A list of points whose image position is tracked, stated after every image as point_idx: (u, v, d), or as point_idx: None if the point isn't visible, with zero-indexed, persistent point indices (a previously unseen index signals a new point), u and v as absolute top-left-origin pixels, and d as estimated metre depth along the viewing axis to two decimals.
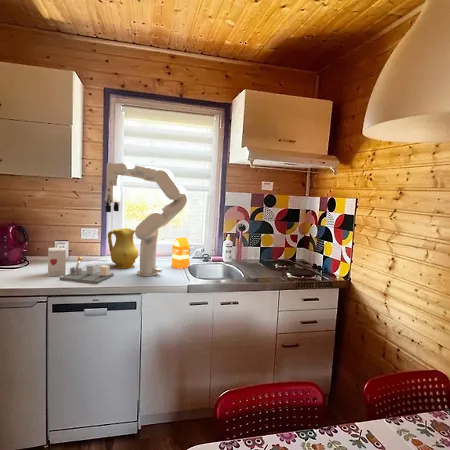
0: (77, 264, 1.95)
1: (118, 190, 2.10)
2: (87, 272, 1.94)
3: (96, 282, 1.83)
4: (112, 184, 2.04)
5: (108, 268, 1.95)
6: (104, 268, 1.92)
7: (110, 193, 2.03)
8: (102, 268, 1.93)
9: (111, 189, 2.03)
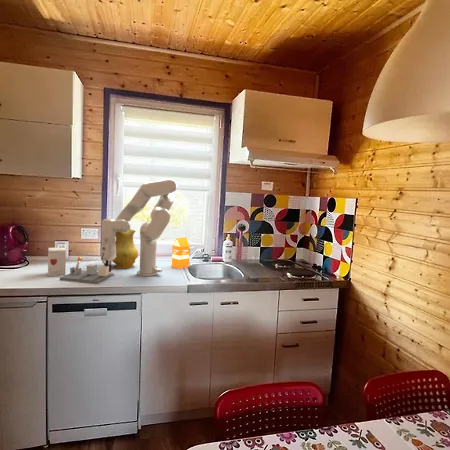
0: (77, 264, 1.95)
1: (114, 247, 1.99)
2: (87, 272, 1.94)
3: (96, 282, 1.83)
4: (107, 242, 1.93)
5: (107, 268, 1.94)
6: (103, 268, 1.92)
7: (105, 252, 1.92)
8: (101, 269, 1.92)
9: (106, 248, 1.92)
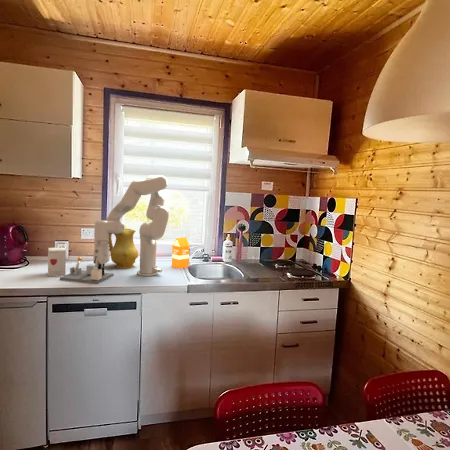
0: (77, 264, 1.95)
1: (107, 249, 1.91)
2: (87, 272, 1.94)
3: (96, 282, 1.83)
4: (100, 244, 1.85)
5: (100, 272, 1.86)
6: (96, 272, 1.84)
7: (98, 255, 1.85)
8: (93, 272, 1.84)
9: (99, 250, 1.85)
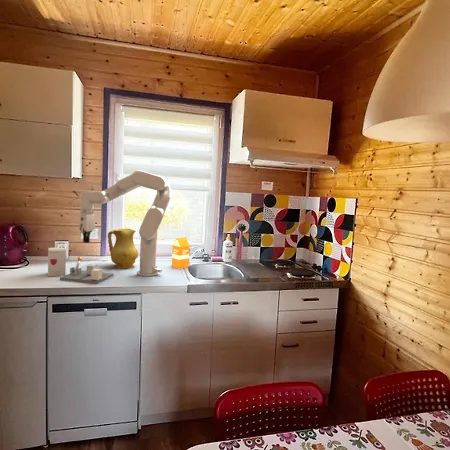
0: (77, 264, 1.95)
1: (93, 218, 2.04)
2: (87, 272, 1.94)
3: (96, 282, 1.83)
4: (86, 213, 1.98)
5: (100, 272, 1.86)
6: (96, 272, 1.84)
7: (83, 222, 1.97)
8: (93, 272, 1.84)
9: (85, 218, 1.97)
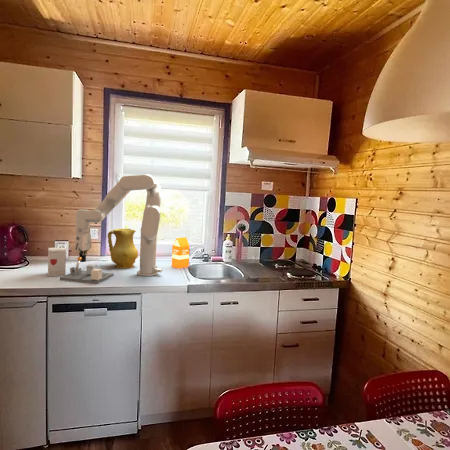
0: (77, 264, 1.95)
1: (89, 237, 2.01)
2: (87, 272, 1.94)
3: (96, 282, 1.83)
4: (81, 232, 1.95)
5: (100, 272, 1.86)
6: (96, 272, 1.84)
7: (79, 242, 1.94)
8: (93, 272, 1.84)
9: (80, 237, 1.94)
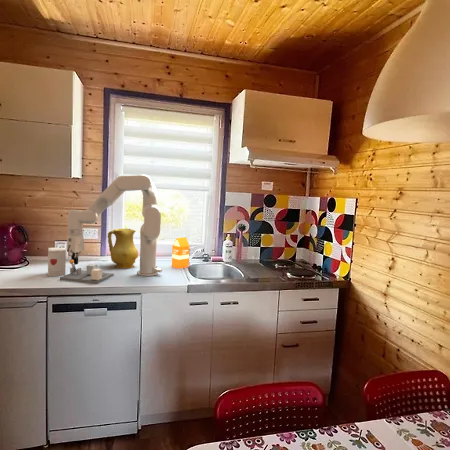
0: (73, 267, 1.91)
1: (81, 239, 1.94)
2: (87, 272, 1.94)
3: (96, 282, 1.83)
4: (74, 233, 1.88)
5: (100, 272, 1.86)
6: (96, 272, 1.84)
7: (71, 243, 1.87)
8: (93, 272, 1.84)
9: (72, 239, 1.87)
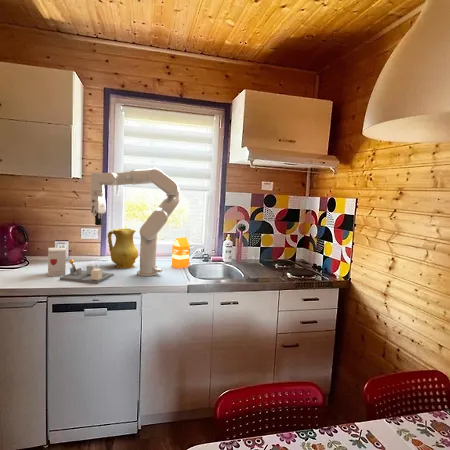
0: (73, 267, 1.91)
1: (103, 200, 2.02)
2: (87, 272, 1.94)
3: (96, 282, 1.83)
4: (97, 195, 1.97)
5: (100, 272, 1.86)
6: (96, 272, 1.84)
7: (95, 204, 1.96)
8: (93, 272, 1.84)
9: (96, 200, 1.96)
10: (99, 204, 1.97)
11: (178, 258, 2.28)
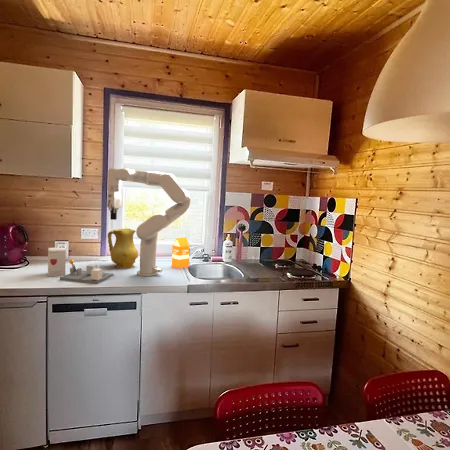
0: (73, 267, 1.91)
1: (119, 196, 2.08)
2: (87, 272, 1.94)
3: (96, 282, 1.83)
4: (113, 190, 2.03)
5: (100, 272, 1.86)
6: (96, 272, 1.84)
7: (111, 199, 2.02)
8: (93, 272, 1.84)
9: (112, 195, 2.02)
10: (115, 199, 2.03)
11: (178, 258, 2.28)
